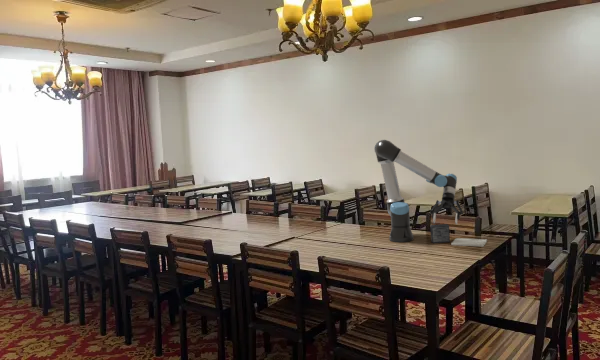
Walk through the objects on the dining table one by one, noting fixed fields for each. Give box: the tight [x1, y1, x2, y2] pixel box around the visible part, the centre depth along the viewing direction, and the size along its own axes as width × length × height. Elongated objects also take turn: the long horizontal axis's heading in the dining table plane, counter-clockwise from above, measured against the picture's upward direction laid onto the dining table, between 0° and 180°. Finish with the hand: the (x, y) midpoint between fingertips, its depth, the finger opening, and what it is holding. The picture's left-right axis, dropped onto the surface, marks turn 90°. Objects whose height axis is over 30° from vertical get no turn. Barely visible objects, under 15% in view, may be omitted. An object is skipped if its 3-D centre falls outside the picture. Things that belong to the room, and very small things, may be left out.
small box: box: [429, 223, 451, 244], centre depth 291 cm, size 11×6×10 cm, turn 84°
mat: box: [450, 237, 488, 248], centre depth 283 cm, size 18×14×1 cm
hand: (444, 222), depth 295 cm, fingers open, 13 cm apart
